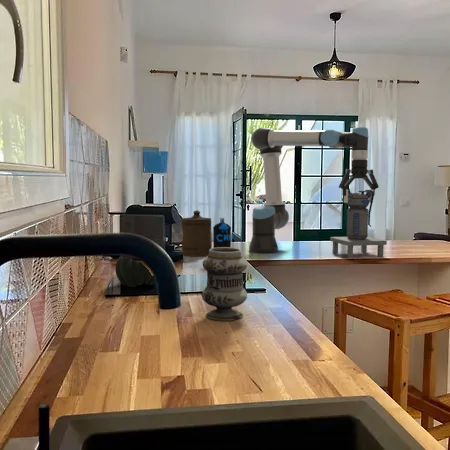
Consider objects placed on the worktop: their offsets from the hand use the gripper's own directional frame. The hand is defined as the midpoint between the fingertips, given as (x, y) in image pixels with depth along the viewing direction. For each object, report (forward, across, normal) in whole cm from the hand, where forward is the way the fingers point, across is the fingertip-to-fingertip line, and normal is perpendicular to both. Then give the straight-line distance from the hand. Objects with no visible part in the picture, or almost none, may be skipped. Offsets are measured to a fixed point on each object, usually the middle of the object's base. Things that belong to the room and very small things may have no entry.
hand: (358, 202), depth 238 cm
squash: (+26, -110, -50) cm, 124 cm away
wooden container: (+26, -78, +18) cm, 84 cm away
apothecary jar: (+26, -89, -95) cm, 133 cm away
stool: (+26, 0, 0) cm, 26 cm away
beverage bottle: (+18, +1, 0) cm, 18 cm away
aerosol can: (+26, -71, -9) cm, 76 cm away
